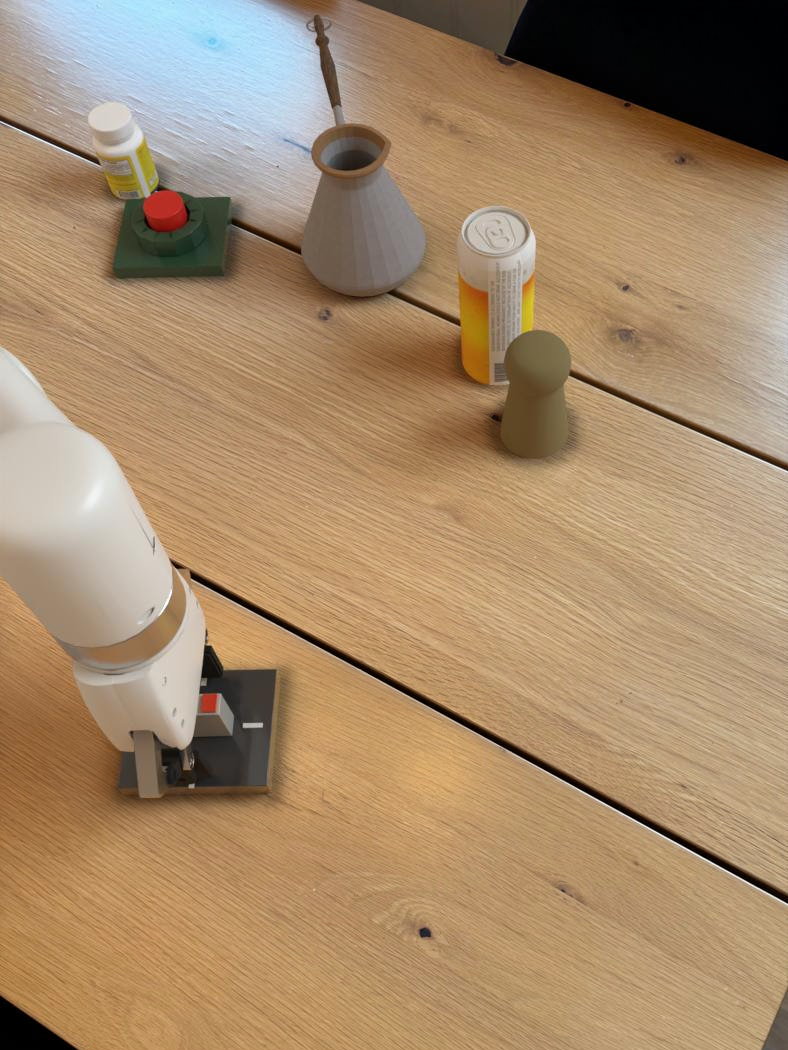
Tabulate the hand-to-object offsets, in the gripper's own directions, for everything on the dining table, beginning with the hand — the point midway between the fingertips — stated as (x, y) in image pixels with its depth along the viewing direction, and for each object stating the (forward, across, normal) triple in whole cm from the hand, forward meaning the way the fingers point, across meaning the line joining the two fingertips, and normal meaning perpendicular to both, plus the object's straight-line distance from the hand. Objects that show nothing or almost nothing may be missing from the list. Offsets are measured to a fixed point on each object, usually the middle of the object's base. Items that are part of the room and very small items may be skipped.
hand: (196, 722), depth 75 cm
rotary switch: (+3, 0, 0) cm, 3 cm away
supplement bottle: (+4, -58, -13) cm, 60 cm away
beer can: (+3, -35, +22) cm, 41 cm away
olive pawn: (+3, -27, +25) cm, 37 cm away
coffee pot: (+4, -52, +9) cm, 53 cm away
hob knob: (+1, 0, 0) cm, 1 cm away
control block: (+3, -50, -8) cm, 51 cm away
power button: (0, -50, -8) cm, 51 cm away
